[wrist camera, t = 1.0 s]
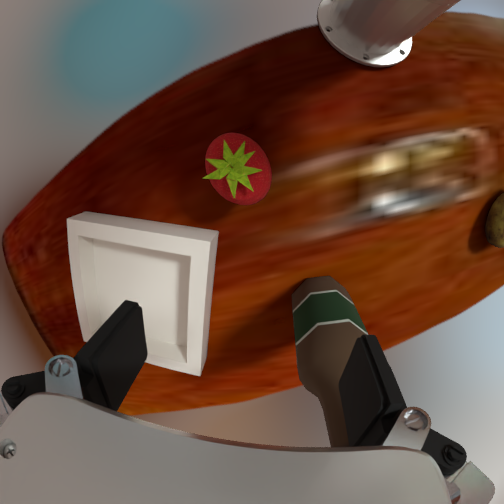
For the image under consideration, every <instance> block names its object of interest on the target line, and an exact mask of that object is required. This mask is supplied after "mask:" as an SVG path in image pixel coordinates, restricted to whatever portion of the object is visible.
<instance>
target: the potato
mask: <svg viewBox="0 0 504 504" xmlns="http://www.w3.org/2000/svg"><path fill="white" fill-rule="evenodd" d="M485 233H486V238H487V241H488V242H489V243H490V244H492V245H494V246H495V247H498V248H502V247H504V193H503V194H501V195H500V196H499V197H498V198H497V199H496V200H495V202H494V203H493V205H492V207H491V209H490V211H489V214H488V217H487V221H486V225H485Z"/></svg>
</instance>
